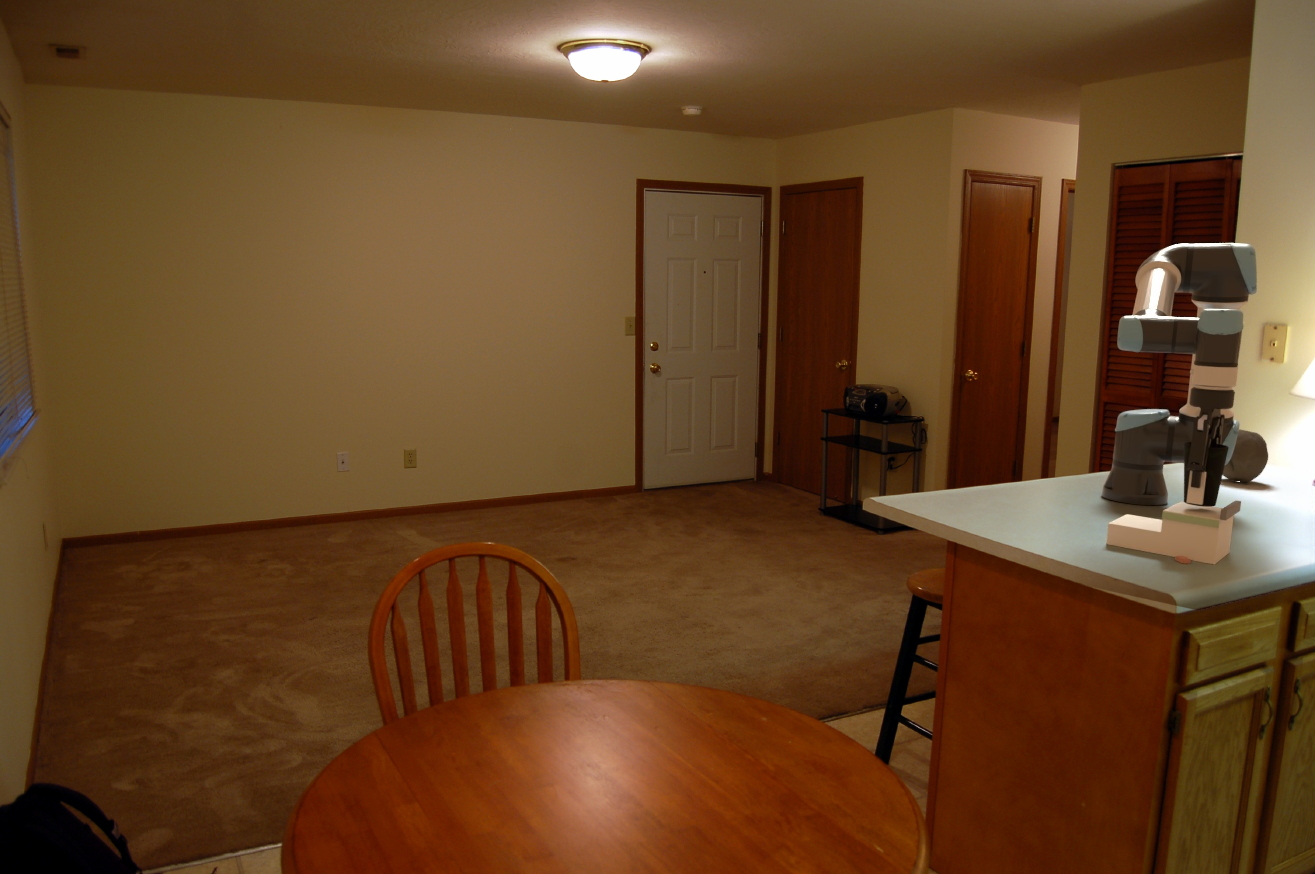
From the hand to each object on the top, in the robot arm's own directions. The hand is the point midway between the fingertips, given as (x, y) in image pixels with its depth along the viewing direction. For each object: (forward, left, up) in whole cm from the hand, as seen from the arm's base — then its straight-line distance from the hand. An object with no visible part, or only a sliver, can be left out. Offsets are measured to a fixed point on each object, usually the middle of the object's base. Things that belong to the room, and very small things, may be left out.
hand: (1200, 500), depth 187 cm
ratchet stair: (+2, -4, -11) cm, 12 cm away
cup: (0, 0, -1) cm, 1 cm away
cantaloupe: (-97, -12, -11) cm, 98 cm away
